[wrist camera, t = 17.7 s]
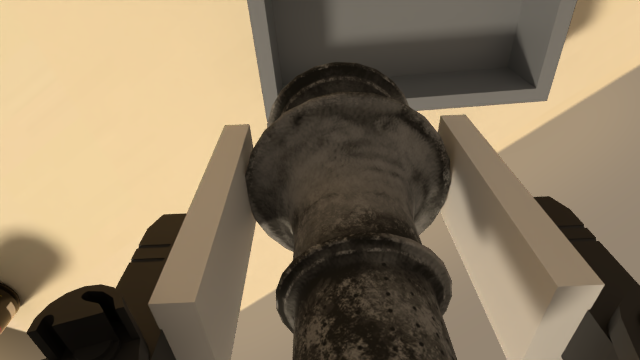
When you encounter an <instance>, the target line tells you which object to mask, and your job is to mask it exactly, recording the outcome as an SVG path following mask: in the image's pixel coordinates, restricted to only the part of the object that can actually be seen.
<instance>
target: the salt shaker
mask: <svg viewBox="0 0 640 360" xmlns="http://www.w3.org/2000/svg"><path fill="white" fill-rule="evenodd" d="M245 179H246V185H247V192H248V198H249V203H250V207H251V211H252V213H253V216H254V218H255V220H256V221H257V222H258V223H259V225H260V226H261V227H262V228H263V230H264V231H265V232H266V233H267V234H268V236H270V237H271V238H272V239H274V240H275V241H277V242H278V243H279V244H281V245H282V246H283V247H285V248H286V249H288V250H291V251H293V252H294V254H293V261H292V262H291V264H290V265H289V266H288V267H287V269H286V270H285V271H284V272H283V273H282V275H281V278H280V281H279V284H278V286H277V289H276V308H277V311H278V313H279V315H280V317H281V320H282V322H283V323H284V324H285V325H286V326H287V327H288V328H289V330H290V331H291V332H292V333H293V334H294V339H293V360H457V358H456V355H455V352H454V349H453V346H452V343H451V340H450V337H449V334H448V331H447V328H446V326H445V322H444V320H443V314H444V313H445V312H446V310H447V308H448V305H449V302H450V299H451V297H452V280H451V278H450V276H449V274H448V271H447V269H446V267H445V265H444V263H443V261H442V260H441V259H440V258H438V256H437V255H436V254H435V253H434V252H433V251H432V250H431V249H429V248H427V247H425V246H424V245H422V243H421V241H420V238H419V235H420V234H421V233H422V232H423V231H424V230H425V229H426V228H427V227H428V226H429V225H431V223H432V222H433V221H434V219H435V218H436V216H437V215H438V213H439V211H440V210H441V208H442V207H443V205H444V203H445V200H446V196H447V193H448V190H449V186H450V183H451V178H450V159H449V156H448V153H447V151H446V148H445V145H444V142H443V140H442V138H441V136H440V135H439V134H438V132H437V131H436V130H435V129H434V127H433V126H432V125H431V124H430V123H429V121H428V120H427V119H426V118H425V117H424V116H423V115H421V114H420V113H418V112H417V111H415V110H414V109H412V108H411V107H409V105H408V102H407V100H406V97H405V95H404V94H403V92H402V91H401V90H400V89H399V88H398V86H397V85H396V84H395V83H394V81H393V80H392V79H390V78H389V77H387V76H386V75H384V74H383V73H381V72H380V71H378V70H377V69H374V68H371V67H368V66H365V65H362V64H359V63H350V62H333V63H328V64H324V65H319V66H315V67H313V68H311V69H309V70H307V71H305V72H303V73H302V74H300V75H298V76H296V77H295V78H294V79H293V80H292V81H291V82H290V83H289V84H287V85H286V86H285V87H284V88H283V89H282V90H281V92H280V94H279V95H278V97H277V99H276V100H275V102H274V104H273V105H272V108H271V112H270V116H269V120H268V123H267V129H266V130H265V131H264V132H263V134H262V135H261V137H260V139H259V140H258V142H257V143H256V145H255V147H254V148H253V150H252V152H251V154H250V158H249V162H248V166H247V170H246V174H245Z"/></svg>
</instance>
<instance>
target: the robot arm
mask: <svg viewBox="0 0 640 360" xmlns="http://www.w3.org/2000/svg"><path fill="white" fill-rule="evenodd" d="M438 134H439V135H440V136H441V138H442V140H443V142H444V145H445V148H446V151H447V153H448V156H449V159H450V178H451V183H450V186H449V190H448V193H447V196H446V200H445V203H444V205H443V207H442V208H441V210H440V213H441V215H442V217H443V219H444V221H445V224H446V226H447V228H448V230H449V232H450V235H451V237H452V239H453V241H454V244H455V246H456V248H457V250H458V252H459V255H460V257H461V259H462V261H463V263H464V265H465V268H466V270H467V272H468V274H469V277H470V279H471V281H472V283H473V285H474V288H475V290H476V292H477V294H478V297H479V298H480V301H481V303H482V305H483V308H484V310H485V312H486V314H487V316H488V319H489V321H490V323H491V325H492V327H493V329H494V332H495V334H496V336H497V338H498V340H499V343H500V345H501V347H502V350H503V352H504V354H505V356H506V358H507V360H561V359H563V360H640V285H639V284H638V283H637V282H636V281H635V280H634V279H633V278H632V277H631V276H630V275H629V273H628V272H627V271H626V270H625V269H624V268H623V267H622V266H621V265H620V264H619V263H618V261H617V260H616V259H615V258H614V257H613V256H612V255H611V254H610V253H609V252H608V250H607V249H606V248H605V247H604V246H603V245H602V244H601V243H600V242H599V241H596V237H595V236H594V235H593V234H592V233H591V232H590V231H589V230H588V229H587V228H584V224H583V223H582V222H581V221H580V220H579V219H578V218H577V217H576V215H575V214H574V213H573V212H572V211H571V210H570V209H569V208H567V207H565V206H564V205H562V204H561V203H559V202H557V201H556V200H554V199H553V198H551V197H549V196H547V197H533V196H532V195H531V194H530V193H529V192H528V190H527V189H526V188H525V187H524V185H523V184H522V183H521V182H520V181H519V179H518V178H517V177H516V176H515V175H514V173H513V172H512V171H511V170H510V169H509V167H508V166H507V165H506V164H505V162H504V161H503V160H502V159H501V158H500V156H499V155H498V154H497V153H496V151H495V150H494V149H493V148H492V146H491V145H490V144H489V143H488V142H487V140H486V139H485V138H484V137H483V136H482V134H481V133H480V132H479V131H478V129H477V128H476V127H475V126H474V125H473V123H472V122H471V121H470V120H469V118H468V117H467V116H466V115H445V116H440V123H439V129H438ZM252 150H253V144H252V137H251V131H250V125H249V124H244V125H225V126H224V128H223V131H222V133H221V135H220V138H219V140H218V142H217V145H216V147H215V149H214V152H213V154H212V156H211V159H210V161H209V163H208V166H207V168H206V170H205V173H204V175H203V177H202V180H201V182H200V184H199V187H198V189H197V191H196V194H195V196H194V198H193V200H192V203H191V205H190V207H189V210H188V212H187V214H165V215H162V216H161V217H160V218H159V219H158V220H157V221H156V222H155V223H154V224H152V225H151V226H150V227H149V228H148V229H147V231H146V233H145V235H144V236H143V238H142V240H141V242H140V244H139V249H136V251H135V253H134V255H133V257H132V259H131V260H132V261H131V263H129V264H128V266H127V268H126V270H125V272H124V274H123V275H122V277H121V279H120V281H119V283H118V285H117V287H116V288H114V287H110V286H105V285H92V286H84V287H82V288H79V289H76V290H74V291H71V292H68V293H66V294H65V295H63V296H61V297H60V298H58V299H57V300H55V301H53V302H52V303H50V304H49V305H48V306H47V307H46V308H45V309H44V310H43V311H42V312H41V313H40V314H39V315H38V316H37V317H36V318H35V319H34V321H33V323H32V324H31V326H30V328H29V329H28V331H27V334H28V335H29V336H30V338H31V339H32V340H33V341H34V343H35V344H36V345H37V346H38V348H39V349H40V350H41V351H42V353H43V354H44V355H45V356H46V359H43V360H230V359H231V354H232V349H233V344H234V338H235V333H236V327H237V322H238V316H239V311H240V306H241V300H242V295H243V289H244V284H245V278H246V273H247V268H248V262H249V257H250V251H251V246H252V240H253V235H254V230H255V224H256V220H255V218H254V216H253V213H252V211H251V207H250V203H249V198H248V192H247V185H246V179H245V174H246V170H247V166H248V162H249V158H250V154H251V152H252Z"/></svg>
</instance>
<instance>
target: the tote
mask: <svg viewBox="0 0 640 360" xmlns="http://www.w3.org/2000/svg"><path fill="white" fill-rule="evenodd" d="M576 2H577V0H247V3H248V9H249V15H250V21H251V27H252V33H253V39H254V45H255V51H256V57H257V63H258V69H259V75H260V81H261V87H262V94H263V100H264V106H265V112H266V118H267V122H268V120H269V116H270V112H271V108H272V105H273V104H274V102H275V100H276V99H277V97H278V95H279V94H280V92H281V90H282V89H283V88H284V87H285V86H286V85H287V84H289V83H290V82H291V81H292V80H293V79H294V78H295V77H296V76H298V75H300V74H302V73H303V72H305V71H307V70H309V69H311V68H313V67H315V66H319V65H324V64H328V63H333V62H350V63H359V64H362V65H365V66H368V67H371V68H374V69H377V70H378V71H380V72H381V73H383V74H384V75H386V76H387V77H389V78H390V79H392V80H393V81H394V83H395V84H396V85H397V86H398V88H399V89H400V90H401V91H402V92H403V94H404V95H405V97H406V100H407V102H408V105H409V107H411V108H412V109H414V110H415V111H421V110H434V109H447V108H460V107H473V106H486V105H499V104H512V103H525V102H538V101H547V99H548V95H549V92H550V89H551V85H552V82H553V79H554V75H555V72H556V69H557V65H558V62H559V59H560V55H561V52H562V49H563V45H564V42H565V39H566V35H567V32H568V29H569V25H570V22H571V19H572V15H573V12H574V9H575V5H576Z"/></svg>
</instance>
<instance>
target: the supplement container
mask: <svg viewBox="0 0 640 360" xmlns="http://www.w3.org/2000/svg"><path fill="white" fill-rule="evenodd" d="M19 306H20V300H19V297H18V296H17V294H16V293H15V292H14V291H13V290H12V289H10V288H9V287H7V286H6V285H4V284H1V283H0V334H1V333H2V332H3V330H4V329H5V328H6V326H7V325H8V324H9V322H10V321H11V319H12V318H13V317H14V315H15V314H16V313H17V311H18V310H19Z"/></svg>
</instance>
